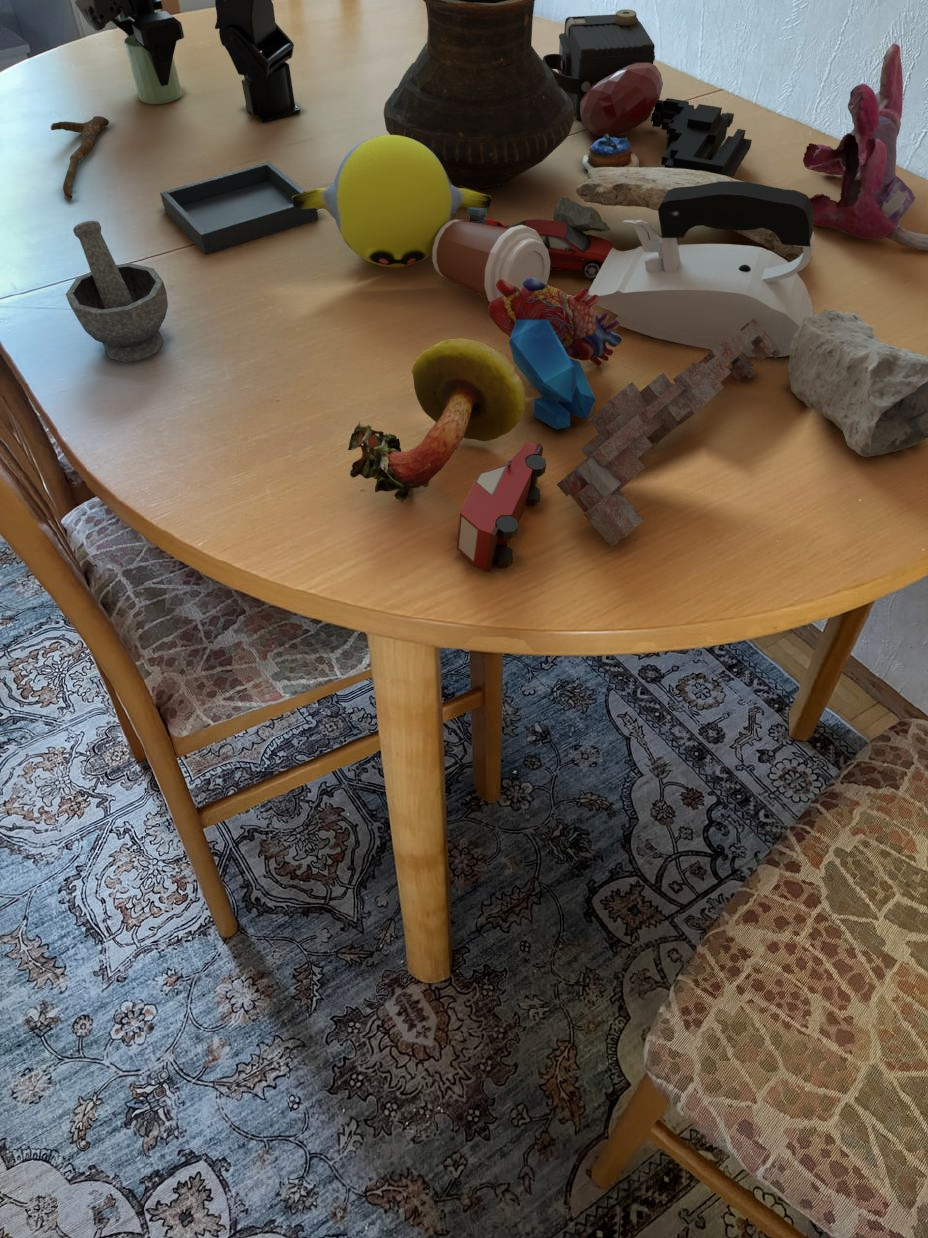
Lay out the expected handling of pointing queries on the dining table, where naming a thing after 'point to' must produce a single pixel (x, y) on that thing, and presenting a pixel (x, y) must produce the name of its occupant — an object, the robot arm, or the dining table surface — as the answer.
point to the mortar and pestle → (117, 300)
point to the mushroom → (444, 414)
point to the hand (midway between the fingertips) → (156, 78)
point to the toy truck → (499, 508)
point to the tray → (236, 207)
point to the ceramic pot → (481, 93)
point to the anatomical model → (557, 317)
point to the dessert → (610, 154)
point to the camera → (597, 51)
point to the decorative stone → (860, 382)
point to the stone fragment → (662, 194)
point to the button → (479, 216)
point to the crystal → (550, 373)
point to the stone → (579, 216)
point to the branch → (88, 138)
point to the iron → (713, 268)
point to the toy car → (569, 246)
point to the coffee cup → (489, 256)
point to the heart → (621, 100)
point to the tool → (699, 137)
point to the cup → (150, 76)
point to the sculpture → (650, 429)
